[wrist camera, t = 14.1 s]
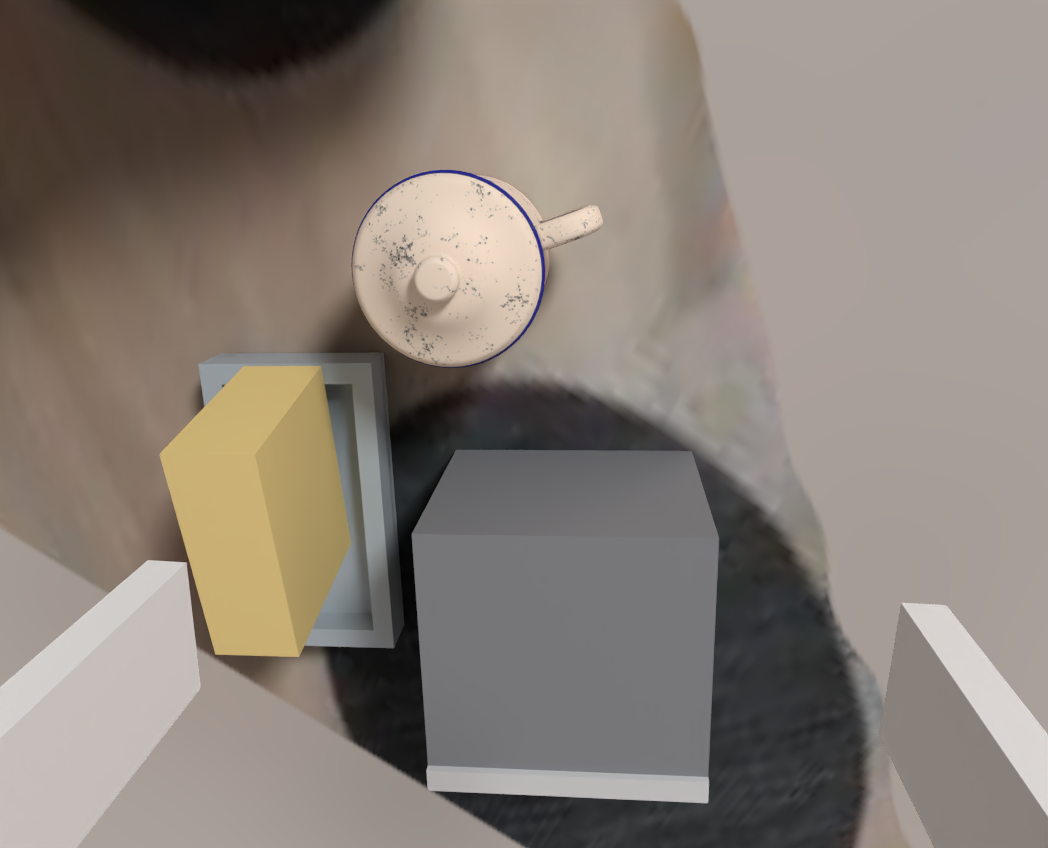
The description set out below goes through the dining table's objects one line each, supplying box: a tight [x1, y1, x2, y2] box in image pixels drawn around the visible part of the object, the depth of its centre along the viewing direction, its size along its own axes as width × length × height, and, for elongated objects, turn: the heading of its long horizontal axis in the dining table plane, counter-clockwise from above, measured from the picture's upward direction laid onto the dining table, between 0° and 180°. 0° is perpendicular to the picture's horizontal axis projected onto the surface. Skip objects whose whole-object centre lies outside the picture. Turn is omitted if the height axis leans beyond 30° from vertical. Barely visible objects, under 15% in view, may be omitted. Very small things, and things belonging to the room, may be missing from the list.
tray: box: [198, 353, 404, 648], centre depth 51 cm, size 18×10×3 cm, turn 1°
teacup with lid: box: [352, 170, 603, 368], centre depth 41 cm, size 12×9×12 cm
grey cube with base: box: [412, 450, 719, 803], centre depth 46 cm, size 14×14×13 cm
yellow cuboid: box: [159, 366, 351, 657], centre depth 45 cm, size 12×4×10 cm, turn 2°
